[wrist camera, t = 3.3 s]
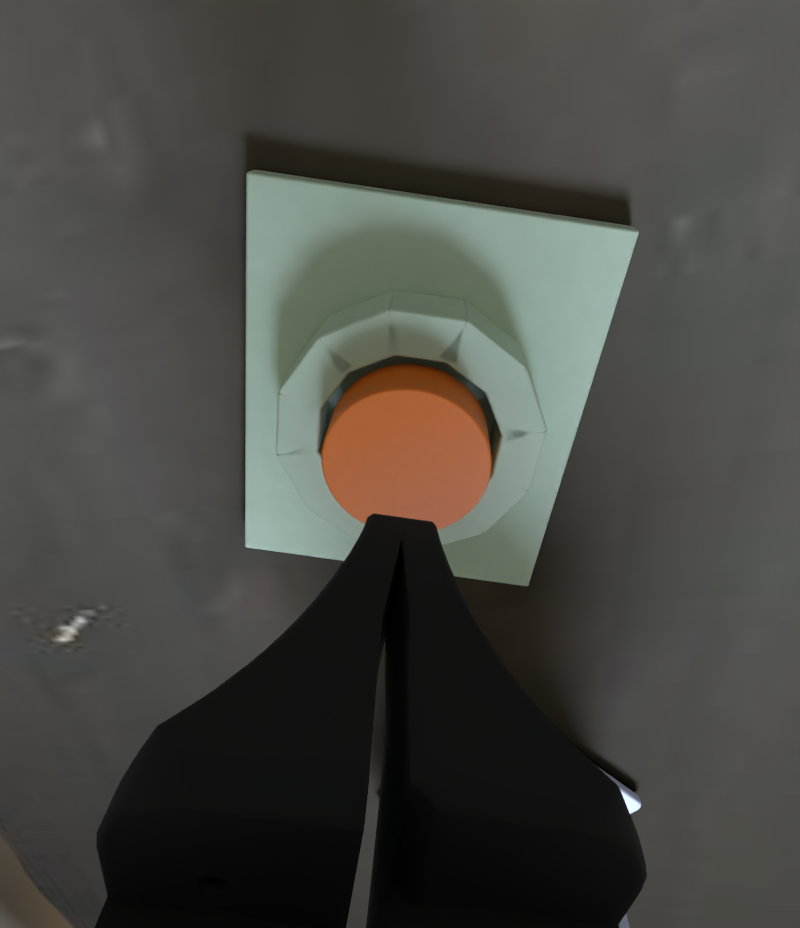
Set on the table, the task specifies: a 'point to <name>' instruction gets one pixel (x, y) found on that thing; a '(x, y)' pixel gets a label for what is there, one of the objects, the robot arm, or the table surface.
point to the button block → (418, 348)
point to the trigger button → (407, 446)
